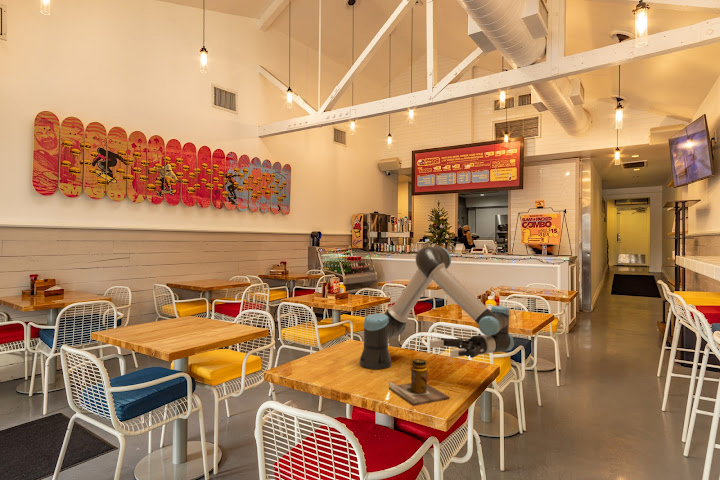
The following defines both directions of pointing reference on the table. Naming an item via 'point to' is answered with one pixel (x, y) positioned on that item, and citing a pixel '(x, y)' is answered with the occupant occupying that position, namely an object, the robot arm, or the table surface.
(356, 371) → the table surface
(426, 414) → the table surface
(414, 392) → the condiment
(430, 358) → the table surface
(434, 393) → the dock board
